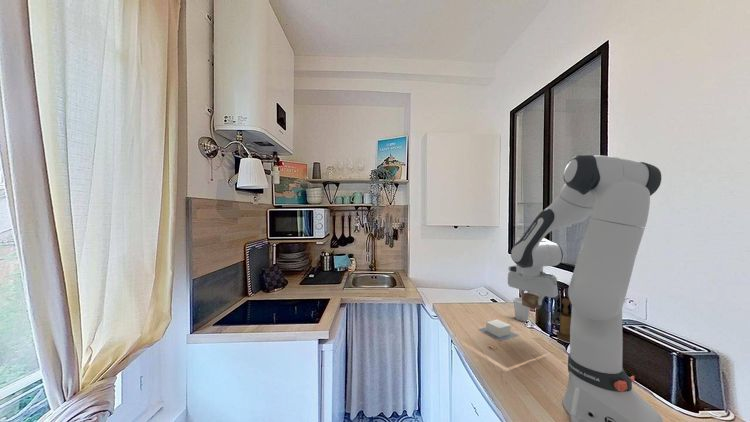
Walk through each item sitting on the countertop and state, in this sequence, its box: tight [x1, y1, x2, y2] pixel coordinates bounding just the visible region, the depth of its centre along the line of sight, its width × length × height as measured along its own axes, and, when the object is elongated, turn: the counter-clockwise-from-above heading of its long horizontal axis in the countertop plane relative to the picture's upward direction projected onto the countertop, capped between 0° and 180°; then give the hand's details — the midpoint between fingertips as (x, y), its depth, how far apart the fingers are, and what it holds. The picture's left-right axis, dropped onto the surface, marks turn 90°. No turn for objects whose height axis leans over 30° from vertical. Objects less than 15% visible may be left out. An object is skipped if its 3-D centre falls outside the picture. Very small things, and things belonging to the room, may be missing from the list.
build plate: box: [477, 327, 520, 342], centre depth 120 cm, size 12×12×1 cm
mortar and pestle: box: [556, 297, 571, 343], centre depth 115 cm, size 7×6×18 cm
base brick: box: [485, 319, 511, 337], centre depth 120 cm, size 7×7×4 cm
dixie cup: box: [512, 296, 531, 322], centre depth 137 cm, size 8×8×10 cm
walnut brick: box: [522, 291, 542, 310], centre depth 114 cm, size 5×5×5 cm
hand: (531, 302), depth 114 cm, fingers closed on walnut brick, 5 cm apart
